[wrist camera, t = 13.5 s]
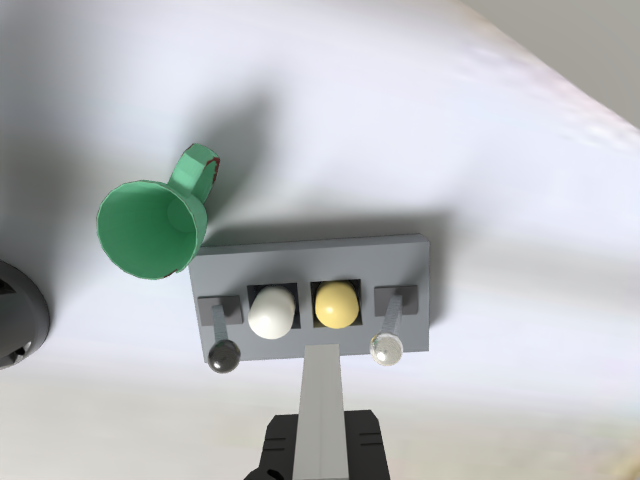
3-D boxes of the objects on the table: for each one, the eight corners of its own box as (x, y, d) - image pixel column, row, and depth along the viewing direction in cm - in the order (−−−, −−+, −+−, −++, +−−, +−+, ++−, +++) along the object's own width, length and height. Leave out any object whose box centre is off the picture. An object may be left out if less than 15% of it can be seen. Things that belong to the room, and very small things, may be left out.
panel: (214, 345, 47) (203, 364, 43) (198, 247, 44) (185, 257, 40) (419, 334, 47) (429, 352, 42) (420, 233, 43) (430, 242, 39)
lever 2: (384, 314, 41) (367, 370, 31) (383, 291, 40) (366, 340, 30) (410, 317, 40) (401, 375, 30) (410, 292, 39) (401, 344, 29)
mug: (201, 266, 45) (167, 298, 35) (133, 224, 43) (78, 244, 34) (262, 171, 41) (243, 177, 32) (190, 122, 40) (148, 112, 30)
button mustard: (317, 314, 44) (316, 329, 41) (314, 277, 43) (313, 290, 39) (356, 312, 44) (359, 327, 40) (354, 275, 43) (357, 287, 39)
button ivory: (257, 323, 43) (250, 340, 39) (252, 286, 42) (245, 299, 38) (297, 321, 43) (294, 337, 39) (293, 283, 42) (290, 297, 38)
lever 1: (206, 328, 41) (210, 384, 30) (203, 305, 40) (205, 354, 30) (232, 323, 41) (244, 375, 31) (229, 300, 41) (240, 345, 31)
